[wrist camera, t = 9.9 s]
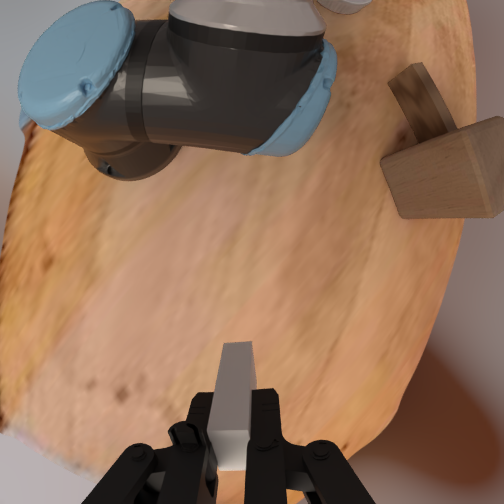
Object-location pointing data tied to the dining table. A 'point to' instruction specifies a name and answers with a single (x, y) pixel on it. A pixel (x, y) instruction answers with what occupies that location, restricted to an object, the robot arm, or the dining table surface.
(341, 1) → the ramekin
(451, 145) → the block
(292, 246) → the dining table surface
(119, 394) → the dining table surface
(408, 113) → the board
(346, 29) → the dining table surface
